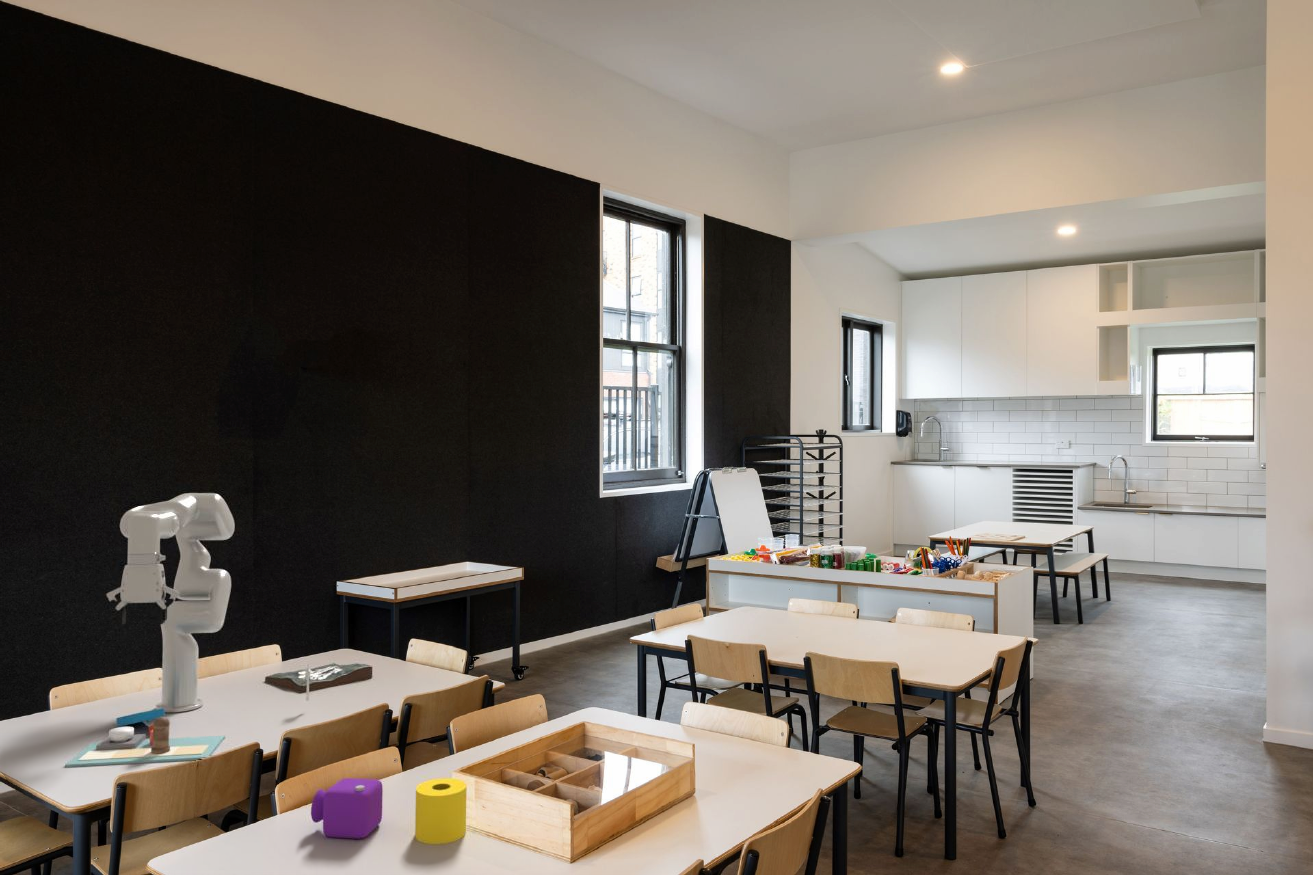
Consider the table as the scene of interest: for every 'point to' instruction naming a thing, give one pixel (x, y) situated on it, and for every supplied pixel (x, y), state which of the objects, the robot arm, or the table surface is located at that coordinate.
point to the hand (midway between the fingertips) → (142, 623)
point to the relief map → (321, 677)
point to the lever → (141, 718)
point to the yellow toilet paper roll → (440, 811)
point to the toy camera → (349, 808)
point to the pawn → (160, 736)
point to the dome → (121, 734)
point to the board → (144, 751)
